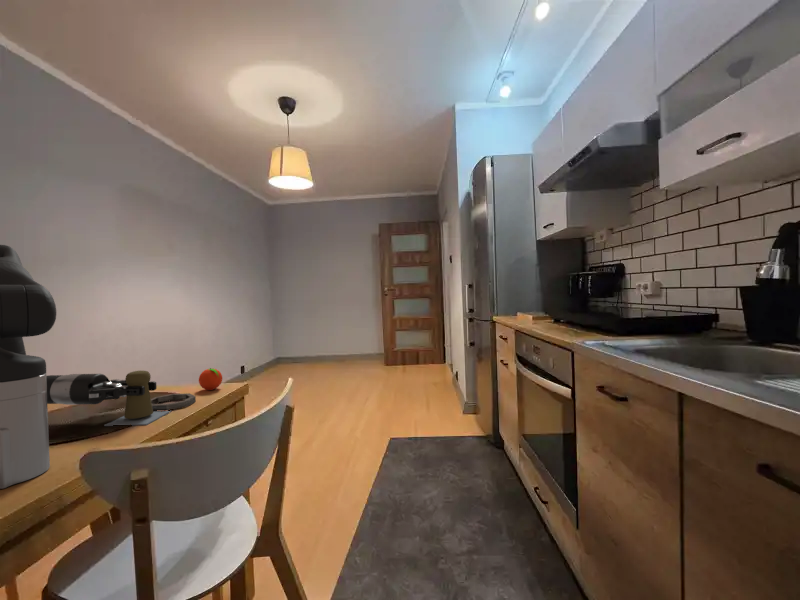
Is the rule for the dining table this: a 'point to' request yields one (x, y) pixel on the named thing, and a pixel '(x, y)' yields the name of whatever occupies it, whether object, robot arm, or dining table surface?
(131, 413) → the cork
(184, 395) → the dark grey flat ring
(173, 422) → the dining table surface
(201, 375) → the clementine
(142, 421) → the rubber mat
